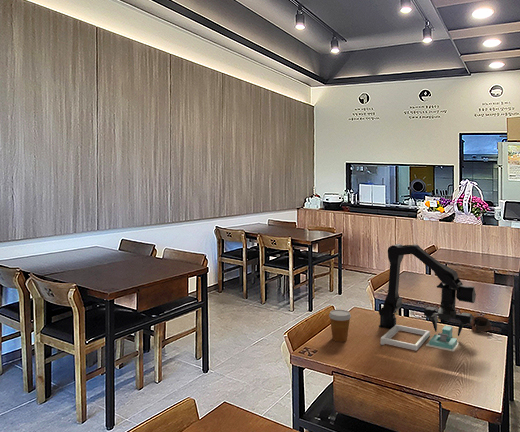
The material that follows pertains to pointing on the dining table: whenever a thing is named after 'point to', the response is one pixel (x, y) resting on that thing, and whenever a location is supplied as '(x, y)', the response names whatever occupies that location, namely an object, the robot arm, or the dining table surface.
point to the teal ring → (449, 339)
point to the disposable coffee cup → (339, 324)
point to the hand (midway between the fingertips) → (447, 333)
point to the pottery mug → (480, 324)
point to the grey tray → (387, 340)
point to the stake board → (443, 339)
